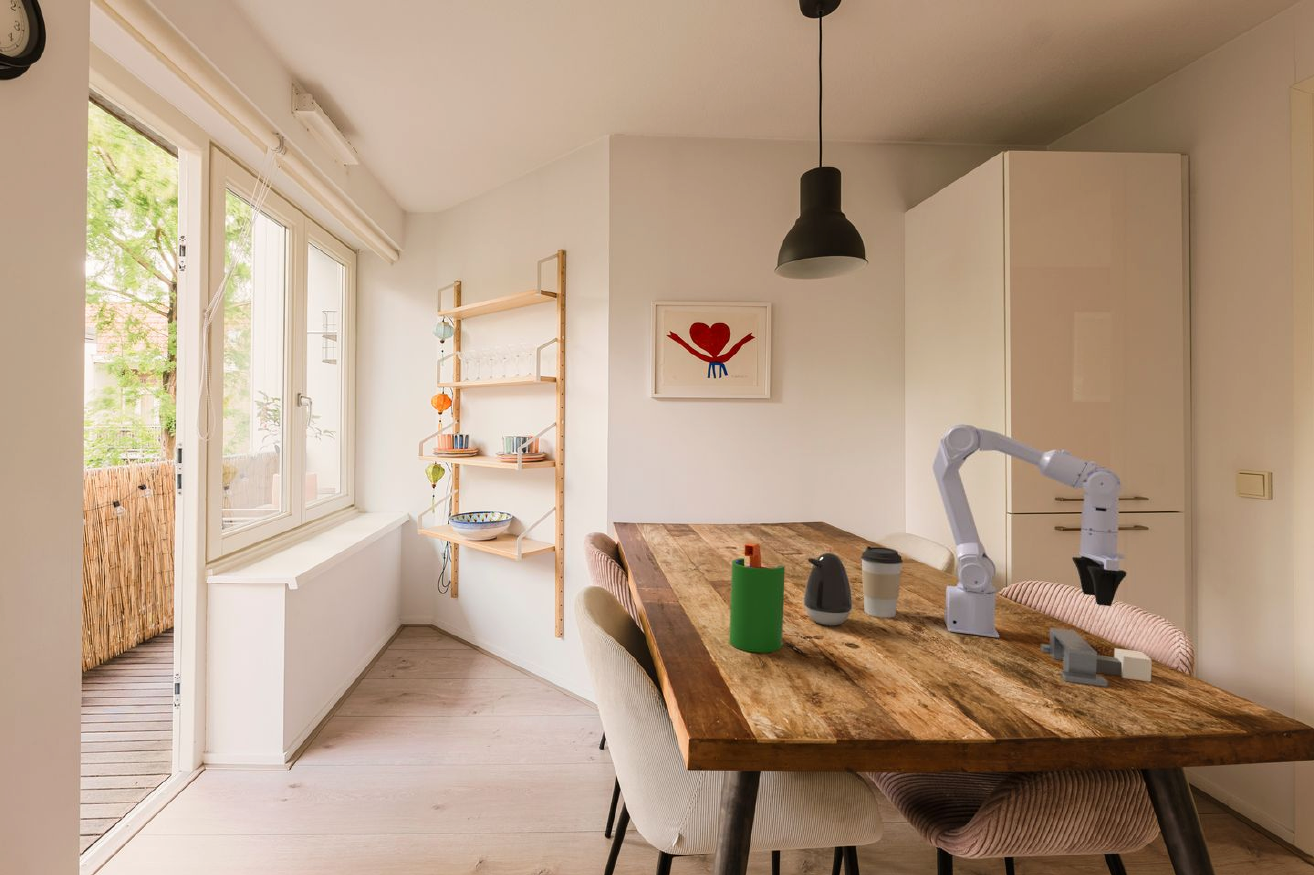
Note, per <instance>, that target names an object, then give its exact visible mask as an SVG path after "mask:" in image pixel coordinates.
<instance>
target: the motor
mask: <svg viewBox="0 0 1314 875" xmlns="http://www.w3.org/2000/svg"><path fill="white" fill-rule="evenodd" d="M744 556H745V557H749V565H747V566H745V558H743V557H741V558H736V559H734V560H732V561H731V582H730V584H731V585H730V587H731V588H730V611H729V613H730V614H729V615H730V616H729V644H730V645H731V646H732V647H734V648H736V649H739V650H742V651H745V652H752V653H760V654H761V653H762V654H763V653H764V654H765V653H772V652H773V653H774V652H777V651H779V650H781V649H782V648H783V630H784V629H783V627H784V625H783V624H784V599H785V598H784V595H785V593H784V592H785V567H786V566H785V565H778V566H777V567H767V566H762V556H761V547H760V544H759V543H755V542H747V543H745V544H744Z"/></svg>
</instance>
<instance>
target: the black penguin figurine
mask: <svg viewBox="0 0 1314 875" xmlns="http://www.w3.org/2000/svg"><path fill="white" fill-rule="evenodd" d="M807 562H808V563H810V564H812V567H811V569H810V572H809V575H808V578H807V581H806V585H805V590H804V596H803V605H804V606H805V610H806V613H807V615H808V616H809V618H810V619H811V620H813V621H814V622H815V623H817V624H819V625H823V626H831V627H833V626H838V625H841V624H843V623H844V622H846V621H847V620H848V618H849V616H850V614H851V611H852V610H853V597H852V596H853V595H852V588H851V584H850V580H849V577H848V576H849V575H848V573H847V570H846V568H845V565H844V563H843V561H842V560H841V558H840V557H839V556H838V555H837V554H835V553H832V552H825V553H822V554H820V555H818V557H817V558H813V557H808V558H807Z"/></svg>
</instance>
